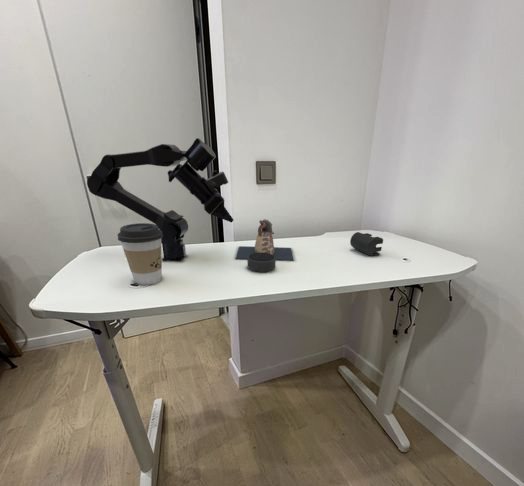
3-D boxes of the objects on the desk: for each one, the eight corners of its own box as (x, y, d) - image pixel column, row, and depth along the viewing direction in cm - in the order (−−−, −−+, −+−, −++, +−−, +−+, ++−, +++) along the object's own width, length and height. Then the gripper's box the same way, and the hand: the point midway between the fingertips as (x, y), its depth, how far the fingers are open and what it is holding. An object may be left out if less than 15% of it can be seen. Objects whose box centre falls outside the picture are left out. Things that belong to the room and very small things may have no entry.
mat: (235, 259, 100) (235, 258, 100) (239, 247, 113) (239, 246, 113) (293, 260, 100) (293, 259, 100) (290, 248, 113) (290, 247, 112)
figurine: (278, 253, 106) (279, 220, 100) (262, 256, 102) (263, 222, 96) (266, 248, 111) (267, 216, 105) (251, 251, 107) (251, 218, 101)
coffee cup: (157, 290, 77) (148, 233, 70) (118, 286, 79) (105, 230, 72) (175, 274, 87) (169, 223, 80) (140, 271, 88) (131, 221, 82)
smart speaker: (279, 271, 91) (280, 259, 89) (252, 274, 88) (252, 262, 86) (269, 262, 98) (269, 250, 96) (244, 264, 96) (244, 253, 94)
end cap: (348, 249, 114) (351, 232, 110) (362, 247, 116) (365, 231, 113) (366, 257, 105) (369, 239, 102) (381, 255, 108) (385, 237, 105)
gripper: (214, 162, 78) (253, 204, 86) (209, 160, 94) (242, 195, 102) (186, 193, 80) (227, 232, 88) (186, 186, 96) (221, 219, 104)
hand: (230, 218), depth 95 cm, fingers open, 9 cm apart
